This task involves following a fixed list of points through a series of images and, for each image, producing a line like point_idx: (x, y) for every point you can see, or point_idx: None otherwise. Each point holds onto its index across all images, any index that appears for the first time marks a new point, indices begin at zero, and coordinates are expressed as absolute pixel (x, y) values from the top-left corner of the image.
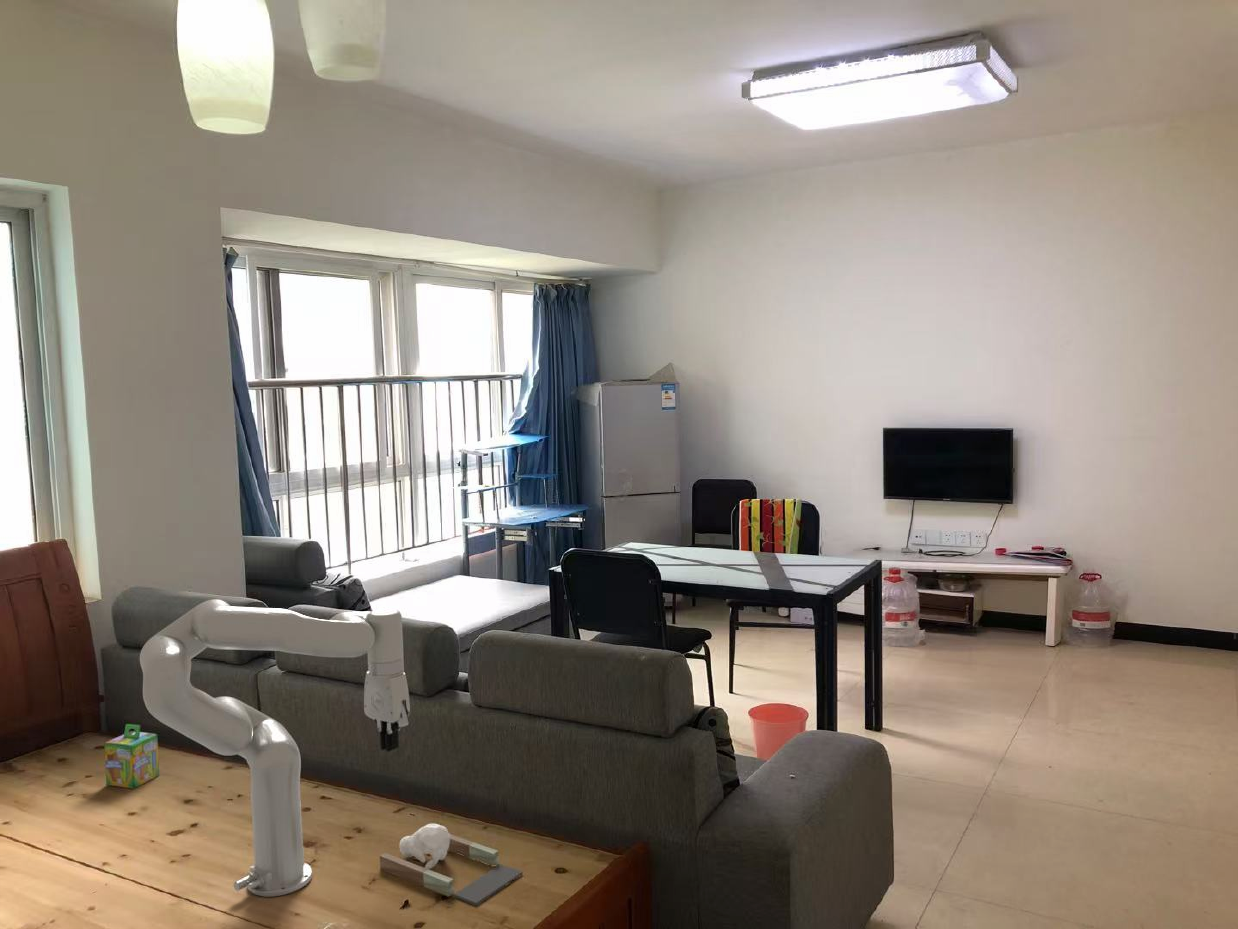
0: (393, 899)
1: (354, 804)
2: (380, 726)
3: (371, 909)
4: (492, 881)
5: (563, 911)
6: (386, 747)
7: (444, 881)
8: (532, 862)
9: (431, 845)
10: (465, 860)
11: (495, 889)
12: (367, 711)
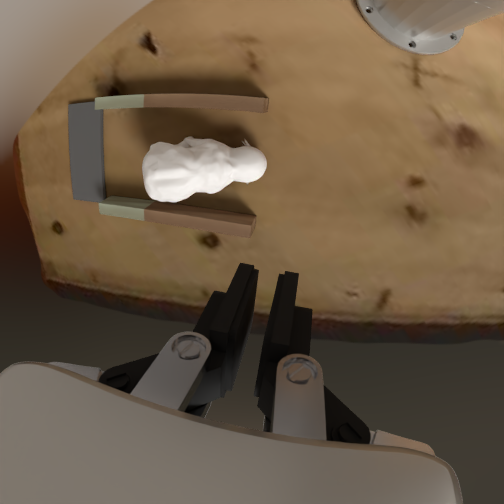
0: (175, 40)
1: (465, 288)
2: (282, 386)
3: (187, 3)
4: (82, 158)
5: (14, 157)
6: (243, 274)
7: (101, 97)
8: (87, 230)
9: (152, 145)
10: None
11: (69, 144)
12: (410, 502)
